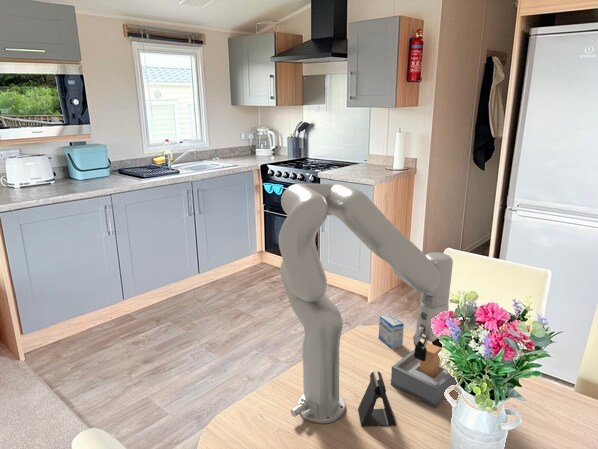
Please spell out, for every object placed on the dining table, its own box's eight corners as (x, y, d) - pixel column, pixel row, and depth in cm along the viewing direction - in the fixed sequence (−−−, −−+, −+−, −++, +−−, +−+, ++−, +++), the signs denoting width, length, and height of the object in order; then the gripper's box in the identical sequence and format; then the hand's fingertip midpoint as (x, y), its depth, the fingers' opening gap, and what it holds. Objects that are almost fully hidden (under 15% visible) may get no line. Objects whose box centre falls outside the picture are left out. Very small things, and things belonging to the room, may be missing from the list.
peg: (431, 384, 123) (434, 353, 121) (419, 378, 126) (421, 348, 123) (438, 377, 126) (440, 347, 123) (425, 372, 129) (427, 342, 126)
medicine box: (378, 338, 149) (378, 315, 147) (388, 335, 151) (389, 312, 149) (392, 349, 143) (393, 326, 140) (403, 346, 144) (404, 323, 142)
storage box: (435, 407, 116) (436, 388, 114) (390, 384, 125) (391, 366, 123) (465, 377, 128) (467, 359, 126) (423, 358, 137) (424, 341, 136)
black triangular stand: (391, 409, 115) (393, 370, 112) (396, 426, 109) (398, 385, 106) (357, 410, 115) (358, 371, 112) (360, 426, 110) (361, 386, 106)
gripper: (430, 312, 110) (424, 370, 115) (461, 292, 122) (455, 346, 127) (405, 302, 115) (400, 358, 120) (437, 284, 127) (432, 336, 132)
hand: (428, 352), depth 123 cm, fingers open, 9 cm apart
